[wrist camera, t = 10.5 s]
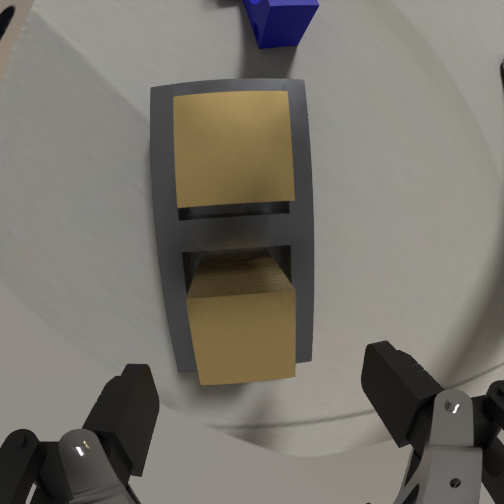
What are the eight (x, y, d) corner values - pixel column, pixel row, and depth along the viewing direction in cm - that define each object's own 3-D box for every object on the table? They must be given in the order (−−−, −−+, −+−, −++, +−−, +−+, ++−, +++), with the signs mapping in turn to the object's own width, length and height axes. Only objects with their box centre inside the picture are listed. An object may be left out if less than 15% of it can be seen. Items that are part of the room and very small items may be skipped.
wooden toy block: (267, 250, 19) (295, 290, 11) (270, 310, 20) (295, 376, 12) (202, 255, 19) (185, 298, 11) (208, 315, 20) (200, 385, 12)
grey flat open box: (291, 97, 18) (304, 79, 14) (299, 337, 21) (311, 361, 18) (163, 104, 17) (150, 87, 13) (184, 346, 21) (178, 372, 17)
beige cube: (262, 132, 17) (287, 91, 10) (266, 197, 18) (294, 200, 10) (195, 136, 17) (173, 96, 9) (198, 201, 18) (177, 208, 10)
